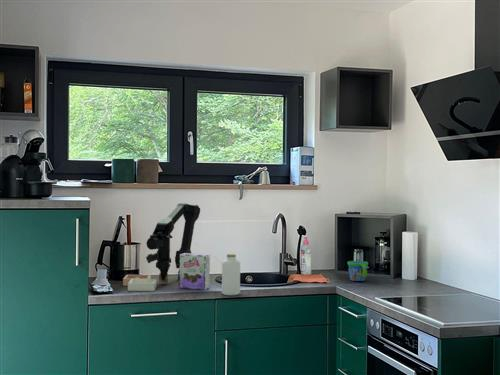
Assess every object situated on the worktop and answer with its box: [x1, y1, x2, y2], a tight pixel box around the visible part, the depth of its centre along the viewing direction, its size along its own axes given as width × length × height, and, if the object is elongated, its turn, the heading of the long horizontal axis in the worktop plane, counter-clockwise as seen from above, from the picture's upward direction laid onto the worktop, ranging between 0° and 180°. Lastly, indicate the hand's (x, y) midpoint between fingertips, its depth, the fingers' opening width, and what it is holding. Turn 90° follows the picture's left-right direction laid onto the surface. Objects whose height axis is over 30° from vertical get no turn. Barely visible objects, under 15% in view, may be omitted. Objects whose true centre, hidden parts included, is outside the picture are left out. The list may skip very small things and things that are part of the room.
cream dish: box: [127, 278, 158, 293], centre depth 283 cm, size 12×12×4 cm
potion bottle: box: [221, 253, 241, 296], centre depth 275 cm, size 8×8×18 cm
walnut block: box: [158, 272, 169, 284], centre depth 295 cm, size 4×4×4 cm
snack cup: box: [347, 260, 369, 282], centre depth 317 cm, size 16×10×10 cm
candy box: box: [178, 253, 211, 291], centre depth 289 cm, size 14×6×16 cm, turn 70°
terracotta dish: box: [122, 274, 152, 287], centre depth 296 cm, size 12×12×4 cm
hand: (163, 279), depth 295 cm, fingers closed on walnut block, 4 cm apart
